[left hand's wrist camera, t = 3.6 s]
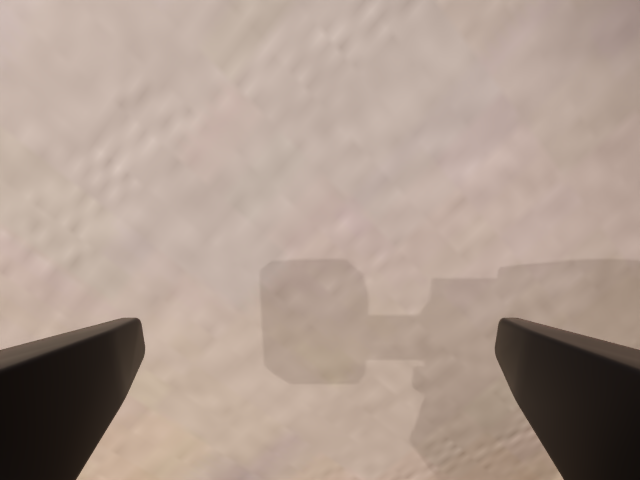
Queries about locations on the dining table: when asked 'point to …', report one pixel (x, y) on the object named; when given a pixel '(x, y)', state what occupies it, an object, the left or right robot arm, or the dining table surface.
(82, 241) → the dining table surface
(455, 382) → the dining table surface
